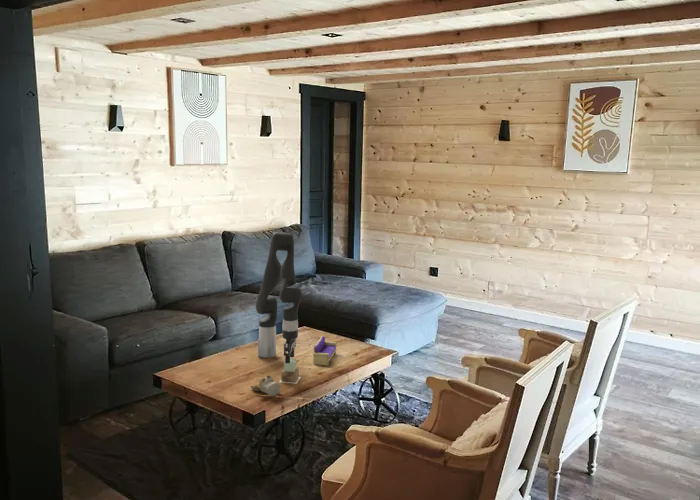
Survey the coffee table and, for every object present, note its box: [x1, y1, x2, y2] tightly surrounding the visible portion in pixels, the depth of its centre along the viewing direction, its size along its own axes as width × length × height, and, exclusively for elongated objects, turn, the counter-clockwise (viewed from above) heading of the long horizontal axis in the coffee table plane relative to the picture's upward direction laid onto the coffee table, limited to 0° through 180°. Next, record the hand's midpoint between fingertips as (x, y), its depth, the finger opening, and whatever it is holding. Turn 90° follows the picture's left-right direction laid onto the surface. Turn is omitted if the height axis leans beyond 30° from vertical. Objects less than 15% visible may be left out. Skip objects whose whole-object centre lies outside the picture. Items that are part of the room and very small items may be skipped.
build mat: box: [278, 376, 301, 385], centre depth 300 cm, size 12×12×1 cm
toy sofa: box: [312, 335, 337, 366], centre depth 332 cm, size 21×9×10 cm, turn 169°
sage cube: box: [283, 357, 297, 372], centre depth 298 cm, size 5×5×5 cm
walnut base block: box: [280, 367, 300, 384], centre depth 299 cm, size 7×7×5 cm
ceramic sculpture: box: [250, 375, 281, 397], centre depth 284 cm, size 11×9×15 cm
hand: (289, 360), depth 298 cm, fingers open, 8 cm apart
